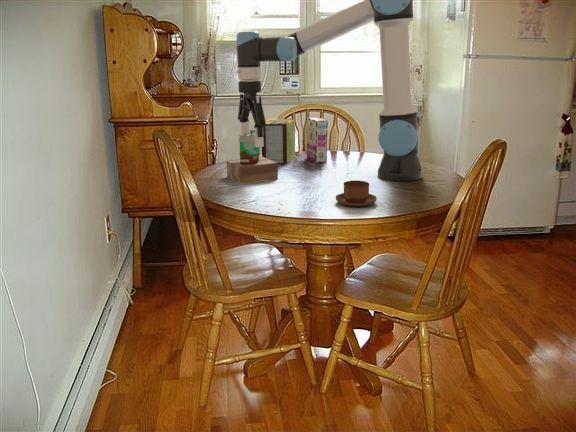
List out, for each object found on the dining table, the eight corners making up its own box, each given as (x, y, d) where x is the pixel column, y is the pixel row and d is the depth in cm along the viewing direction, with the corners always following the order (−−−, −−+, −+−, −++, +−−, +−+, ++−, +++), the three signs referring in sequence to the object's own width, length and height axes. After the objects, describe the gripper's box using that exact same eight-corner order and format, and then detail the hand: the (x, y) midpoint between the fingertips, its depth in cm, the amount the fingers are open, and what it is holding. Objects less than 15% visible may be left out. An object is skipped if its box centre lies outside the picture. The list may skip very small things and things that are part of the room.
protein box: (295, 156, 236) (295, 118, 232) (287, 164, 222) (287, 123, 217) (270, 155, 238) (270, 117, 234) (261, 163, 224) (260, 123, 219)
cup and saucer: (373, 210, 161) (374, 189, 160) (331, 207, 164) (332, 187, 163) (378, 199, 172) (379, 179, 171) (339, 197, 176) (340, 177, 174)
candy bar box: (327, 162, 224) (328, 120, 219) (315, 163, 222) (316, 121, 218) (317, 157, 234) (318, 116, 229) (306, 158, 233) (306, 117, 228)
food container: (256, 166, 192) (256, 137, 188) (238, 165, 193) (238, 135, 190) (266, 159, 203) (267, 130, 200) (250, 157, 204) (250, 129, 201)
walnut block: (277, 179, 199) (277, 162, 197) (240, 184, 192) (239, 167, 191) (263, 173, 209) (262, 156, 207) (227, 177, 203) (226, 160, 201)
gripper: (226, 79, 200) (230, 139, 206) (252, 82, 178) (255, 150, 184) (247, 78, 203) (249, 137, 209) (274, 81, 181) (276, 148, 187)
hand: (252, 143), depth 196 cm, fingers open, 13 cm apart
